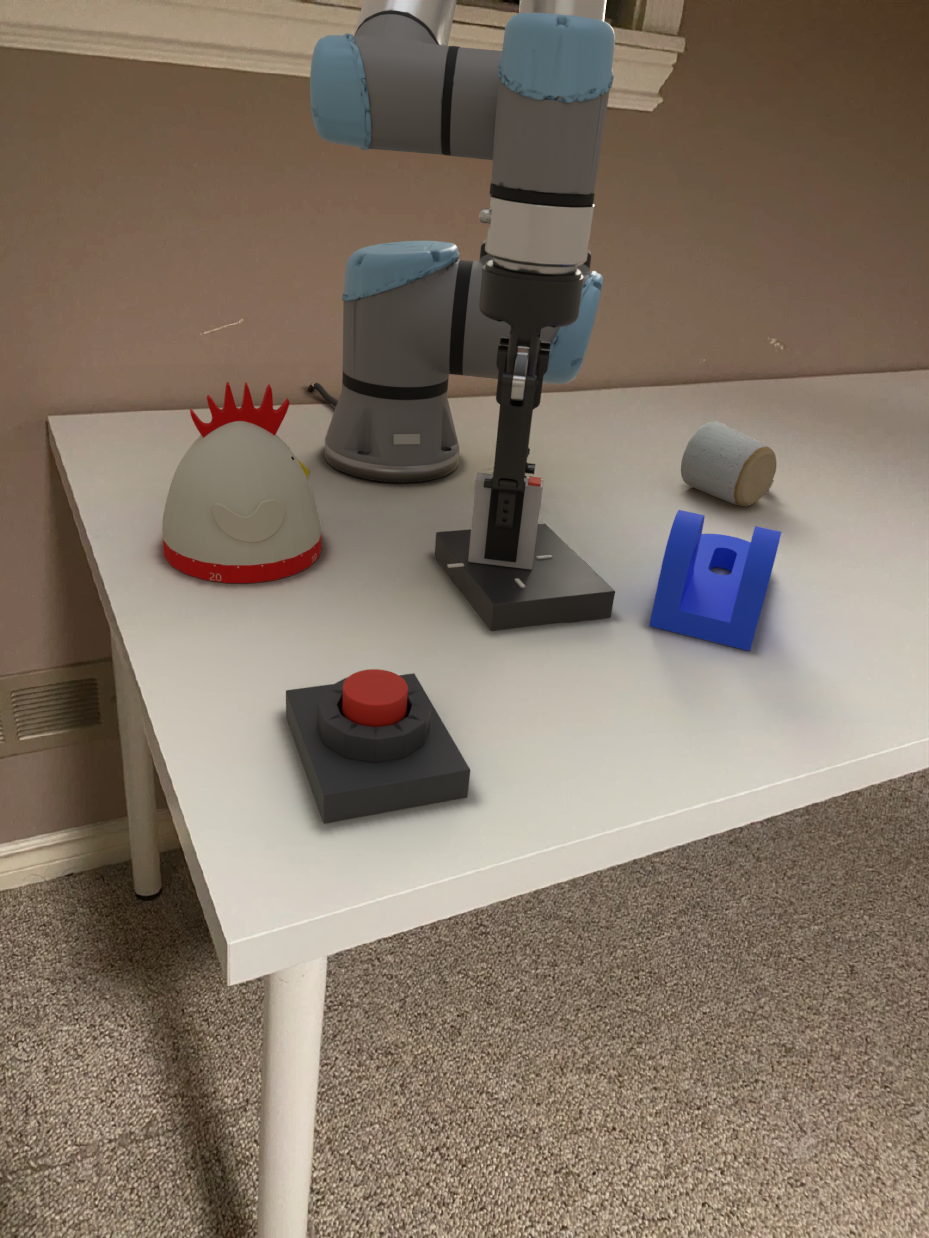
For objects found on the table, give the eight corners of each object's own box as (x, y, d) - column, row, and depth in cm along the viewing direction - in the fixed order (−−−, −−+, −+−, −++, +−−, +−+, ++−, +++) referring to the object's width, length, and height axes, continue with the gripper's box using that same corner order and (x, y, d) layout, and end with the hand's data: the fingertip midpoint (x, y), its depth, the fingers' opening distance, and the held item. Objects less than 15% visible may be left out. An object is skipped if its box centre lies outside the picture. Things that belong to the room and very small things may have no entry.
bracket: (749, 651, 77) (777, 551, 72) (649, 626, 79) (669, 527, 74) (769, 565, 92) (793, 477, 87) (684, 546, 94) (703, 460, 89)
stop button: (335, 696, 60) (335, 673, 59) (395, 687, 61) (397, 665, 61) (351, 732, 57) (352, 709, 56) (414, 723, 58) (416, 699, 57)
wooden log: (733, 515, 102) (750, 447, 98) (673, 490, 107) (687, 424, 103) (787, 498, 108) (805, 433, 104) (727, 475, 113) (743, 412, 110)
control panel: (420, 557, 87) (421, 531, 85) (541, 546, 91) (545, 521, 90) (475, 633, 75) (478, 604, 74) (611, 617, 80) (616, 589, 78)
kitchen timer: (332, 578, 82) (334, 408, 74) (165, 588, 78) (150, 410, 70) (308, 513, 93) (308, 361, 86) (162, 519, 89) (149, 360, 82)
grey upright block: (468, 562, 81) (476, 477, 77) (470, 553, 82) (478, 469, 79) (531, 569, 81) (543, 484, 77) (532, 560, 82) (543, 477, 78)
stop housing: (285, 716, 64) (285, 666, 62) (412, 698, 67) (415, 650, 65) (323, 824, 55) (324, 770, 53) (467, 797, 58) (473, 745, 56)
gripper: (491, 244, 76) (467, 513, 88) (473, 275, 63) (447, 586, 75) (584, 254, 76) (547, 523, 87) (585, 286, 63) (541, 598, 74)
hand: (501, 551), depth 81 cm, fingers closed on grey upright block, 2 cm apart
